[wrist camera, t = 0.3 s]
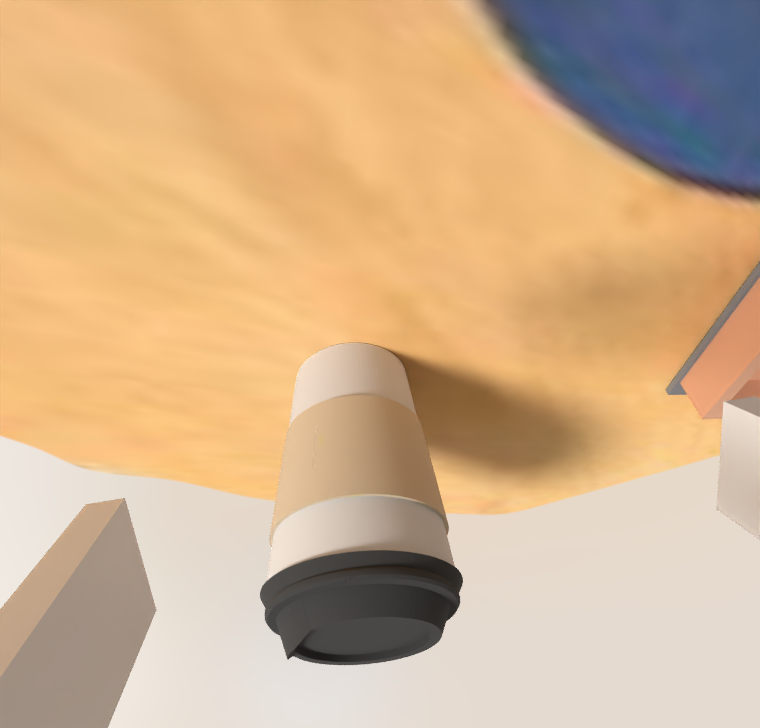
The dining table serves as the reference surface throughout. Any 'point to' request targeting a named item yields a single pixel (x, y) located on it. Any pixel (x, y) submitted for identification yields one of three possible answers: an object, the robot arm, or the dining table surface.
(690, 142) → the dining table surface
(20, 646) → the robot arm
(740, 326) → the dish
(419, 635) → the coffee cup
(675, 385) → the mat
